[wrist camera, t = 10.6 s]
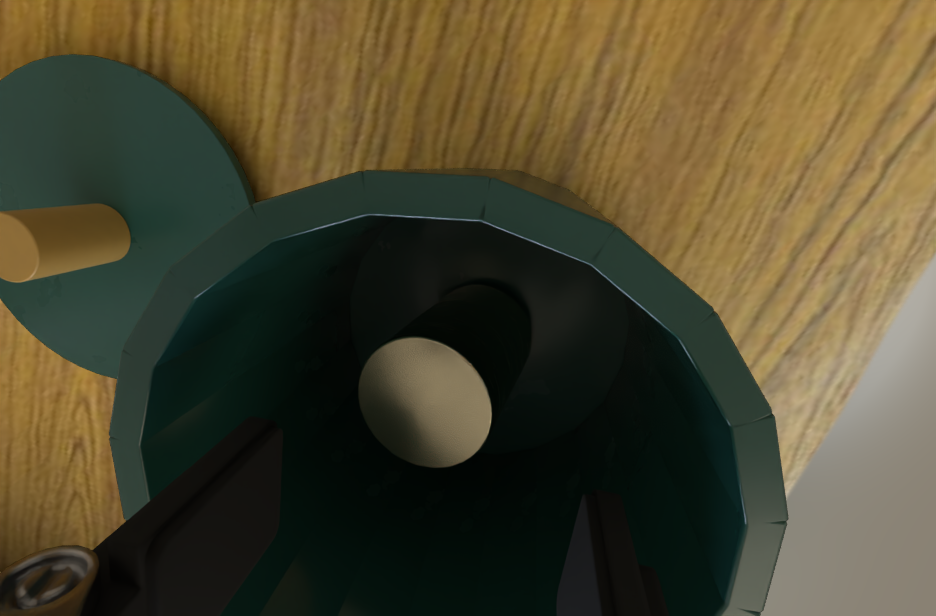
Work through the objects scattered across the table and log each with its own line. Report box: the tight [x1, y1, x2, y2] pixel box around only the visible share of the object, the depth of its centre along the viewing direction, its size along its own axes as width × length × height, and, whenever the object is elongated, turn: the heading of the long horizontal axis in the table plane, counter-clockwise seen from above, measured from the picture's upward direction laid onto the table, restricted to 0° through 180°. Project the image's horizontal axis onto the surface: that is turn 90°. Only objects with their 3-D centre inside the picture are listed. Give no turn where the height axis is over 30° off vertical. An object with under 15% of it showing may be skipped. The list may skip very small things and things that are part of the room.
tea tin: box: [358, 284, 532, 469], centre depth 19 cm, size 5×5×7 cm
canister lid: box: [0, 54, 256, 379], centre depth 22 cm, size 16×16×6 cm
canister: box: [109, 168, 788, 616], centre depth 17 cm, size 15×15×14 cm
